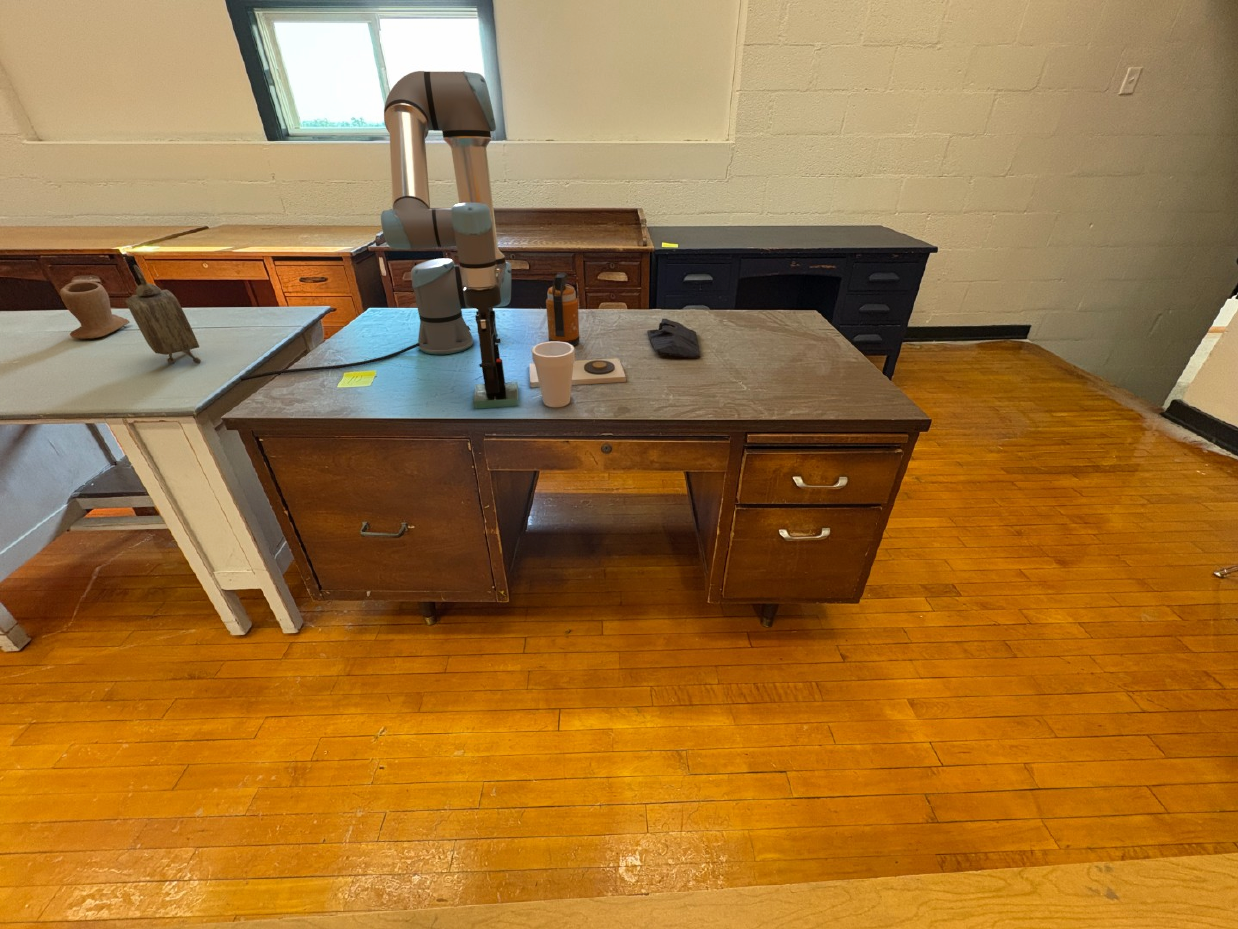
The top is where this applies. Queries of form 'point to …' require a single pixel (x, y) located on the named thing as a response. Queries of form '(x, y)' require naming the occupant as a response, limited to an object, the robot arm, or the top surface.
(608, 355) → the top surface
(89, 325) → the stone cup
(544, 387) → the foam cup
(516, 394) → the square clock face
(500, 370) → the tall black monolith
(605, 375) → the hob
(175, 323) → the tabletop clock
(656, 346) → the dark grey folded cloth
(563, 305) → the canister
